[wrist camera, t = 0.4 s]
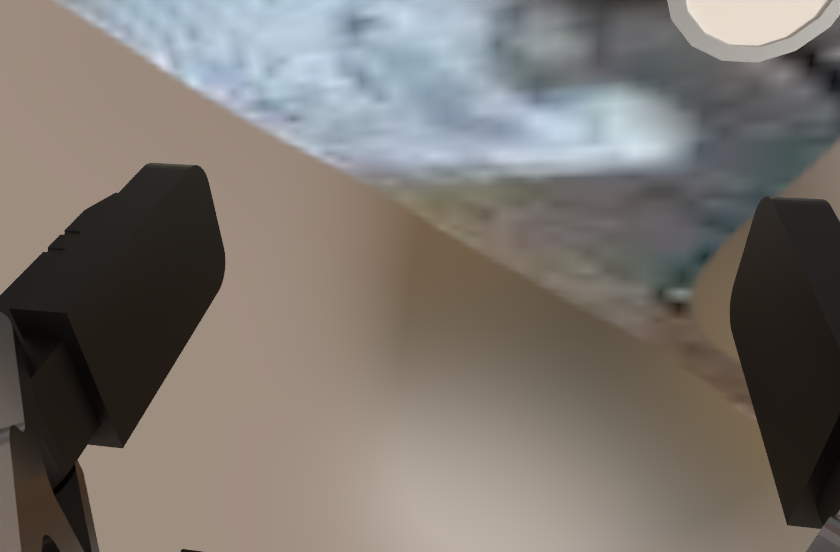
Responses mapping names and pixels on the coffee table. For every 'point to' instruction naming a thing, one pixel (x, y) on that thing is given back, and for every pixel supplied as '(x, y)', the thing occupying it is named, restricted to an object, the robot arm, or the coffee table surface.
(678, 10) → the beige cylinder
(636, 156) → the coffee table surface
